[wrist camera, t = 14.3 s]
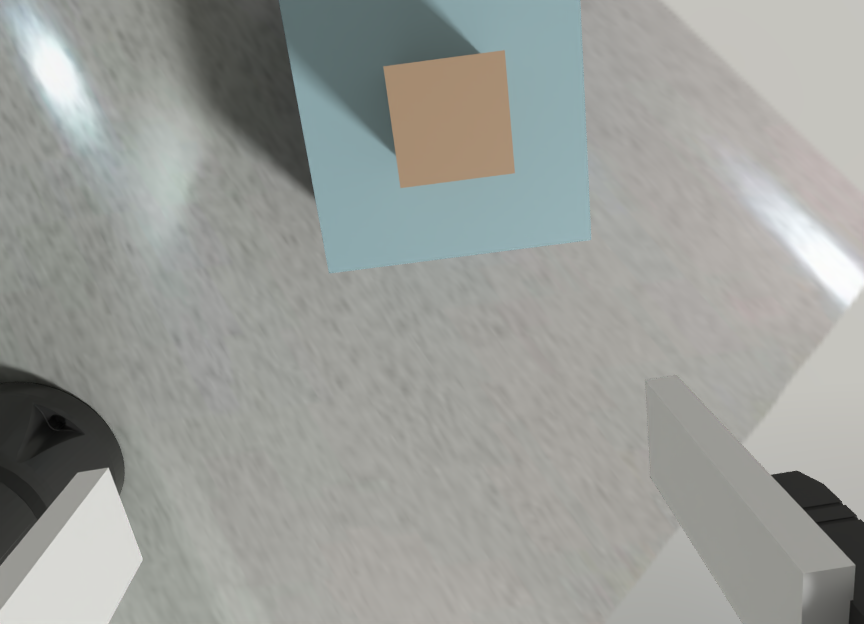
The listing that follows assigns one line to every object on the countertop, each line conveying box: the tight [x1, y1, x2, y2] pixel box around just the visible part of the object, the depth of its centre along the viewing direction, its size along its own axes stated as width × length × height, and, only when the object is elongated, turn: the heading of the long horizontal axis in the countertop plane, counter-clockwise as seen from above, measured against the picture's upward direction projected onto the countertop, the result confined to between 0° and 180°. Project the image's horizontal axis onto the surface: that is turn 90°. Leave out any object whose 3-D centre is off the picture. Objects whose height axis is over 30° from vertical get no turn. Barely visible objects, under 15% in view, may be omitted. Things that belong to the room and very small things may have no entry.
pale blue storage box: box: [279, 0, 591, 273], centre depth 38 cm, size 16×17×22 cm
